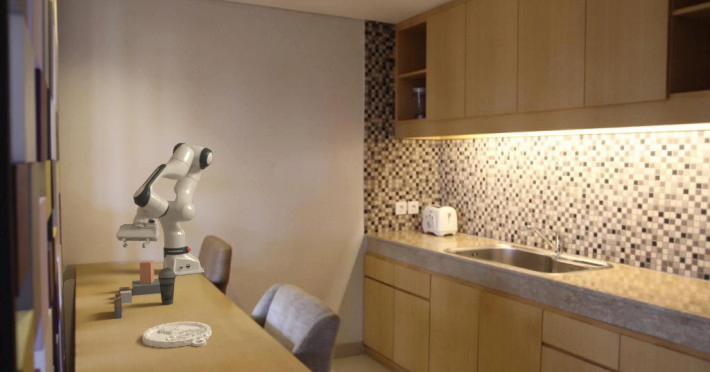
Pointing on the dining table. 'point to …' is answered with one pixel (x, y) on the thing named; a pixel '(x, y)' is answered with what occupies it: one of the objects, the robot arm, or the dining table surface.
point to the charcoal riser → (145, 287)
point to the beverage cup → (167, 285)
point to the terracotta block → (146, 272)
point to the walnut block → (124, 289)
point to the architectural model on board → (118, 306)
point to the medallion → (177, 334)
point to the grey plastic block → (126, 296)
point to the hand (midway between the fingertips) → (134, 247)
